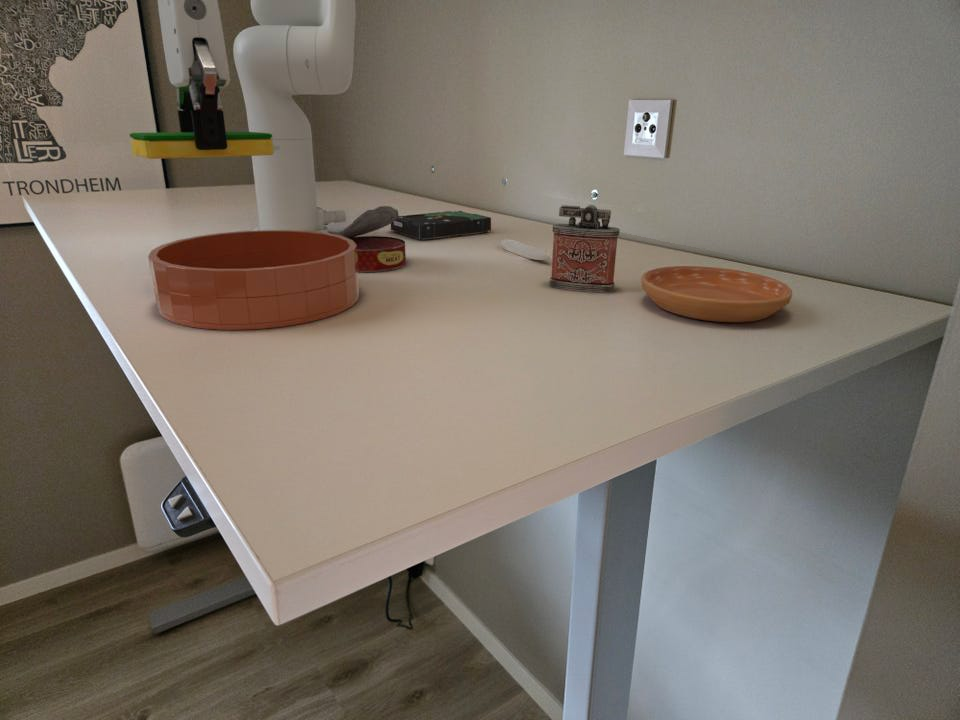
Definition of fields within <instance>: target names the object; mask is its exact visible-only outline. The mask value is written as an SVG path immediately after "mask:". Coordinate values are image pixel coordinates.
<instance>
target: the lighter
mask: <svg viewBox="0 0 960 720" xmlns="http://www.w3.org/2000/svg"><path fill="white" fill-rule="evenodd" d="M558 210H559V211H558V216H559V217H563V218H569V219H568V223H554V224H552V233H553V239H552V240H553V241H552V242H553V243H552V256H551V260H552V261H551V275H550V277H549V287H551V288H557V289H561V290H562V289H563V290H568V291H578V292H589V293H612V292H615V285H616V284H615V283H616V282H614V278H615V269H616V268H615V267H616V258H617V246H618V238H619V236H620V231H621V229H620V228H619V227H616V226H615V227H614V226H609V224H610V221H611V215H612V209H604V208H603V209H601V208H598V207H597V206H595V205H594V204H589V205H587V206H586V207H581V206H580V205H569V204H568V205H566V204H565V205H564V204H562V205H561V206H559V209H558ZM576 218H578V219H580V221H579V222H577V219H576ZM600 220H601V222H600ZM576 222H577V223H578V224H577V223H576Z"/></svg>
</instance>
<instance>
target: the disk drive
mask: <svg viewBox="0 0 960 720" xmlns="http://www.w3.org/2000/svg"><path fill="white" fill-rule="evenodd" d="M390 231H393V232H395V233H397V234H400V235H403V236H406V237H409V238H413V239H417V240H433V239H445V238H446V239H447V238H450V237H455V236H469V235H477V234H478V235H479V234H482V233H488V232H491V231H492V217H490V216H486V215H482V214H478V213H471V212H465V211H463V210H458V211H457V210H454V211H453V210H452V211H451V210H449V211H448V210H447V211H446V210H445V211H437V212H428V213H417V214H408V215H407V214H405V215H399V216H398V218H397V219H396V220H395V221H394V222H392V223H391V224H390Z"/></svg>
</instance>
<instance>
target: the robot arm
mask: <svg viewBox="0 0 960 720" xmlns="http://www.w3.org/2000/svg"><path fill="white" fill-rule="evenodd" d="M219 7H220V6H219V2H218V0H157V8H158V16H159V23H160V31H161V38H162V46H163V53H164V57H165V64H166V69H167V75H168V80H169V82H170V84H171V85H172V86H174V87H175V88H176V104H177V105H176V106H177V109H178V110H177V117H178V124H179V131H180V132H194V137H195V145H196V148H197V149H199V150H225V149H226V148H227V139H226V132H227V130H226V123H225V115H224V114H225V113H224V111H223V103H222V98H221V93H220V89H222V88H223V89H224V88H226V87H228V85H229V84H230V82H231V76H230V75H231V74H230V69H229V62H228V61H229V60H228V56H227V49H226V42H225V36H224V29H223V24H222V18H221V12H220V8H219ZM250 10H251V13H252V16H253V18H254V19H255V21H256V22H257V23H258V24H259V25H253V26H250V27H247V28H245V29H243V30H241V31H240V32H239V33H238V34H237V35H236V37H235V38H234V40H233V47H232V51H233V52H232V53H233V60H234V65H235V69H236V73H237V76H238V79H239V83H240V87H241V91H242V95H243V100H244V106H245V111H246V112H245V113H246V119H247V127H248V132H258V133H269V134H272V138H270V139H271V140H273V150H274V154H272V155H260V156H251V163H252V172H253V183H254V189H255V198H256V206H257V208H256V209H257V217H258V227H254V228H252V229H251V230H250V231H256V230H300V231H315V232H323V233H330V232H329V228H328V225H329V224H330V223H344V222H346V221H347V214H346V211H345V210H344V209H342V210H327V209H324V208H322V207H319V206H318V201H317V189H316V188H317V187H316V176H315V175H316V174H315V162H314V161H315V160H314V149H313V136H312V135H313V134H312V128H311V127H312V126H311V123H310V120H309V119H308V117H307V115H306V114H305V112H304V111H303V109H302V108H301V107H300V106H299V105H298V104H297V102H296V101H295V100H294V98H293V97H292V96H300V95H310V96H311V95H313V96H314V95H315V96H317V95H319V96H321V95H322V96H327V95H328V96H331V95H340V94H343V93H345V92H347V90H348V89H349V88H350V86H351V83H352V80H353V72H354V58H355V57H354V55H355V36H356V35H355V33H356V18H357V17H356V0H250Z"/></svg>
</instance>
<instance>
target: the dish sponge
mask: <svg viewBox="0 0 960 720" xmlns="http://www.w3.org/2000/svg"><path fill="white" fill-rule="evenodd" d="M129 138H130V145H131V151H132V155H134V156H137V157H141V158H145V159H150V160H158V159H159V160H161V159H188V158H189V159H192V158H225V157H226V158H227V157H252V156H260V155H272V154H274V150H273V140H271V139H270V138H272V134H269V133H258V132H249V131H226V139H227V148H226V149H225V150H199V149H197V148H196V145H195V137H194V132H179V131H177V132H173V131H172V132H131V133H129ZM131 138H132V139H131Z"/></svg>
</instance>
